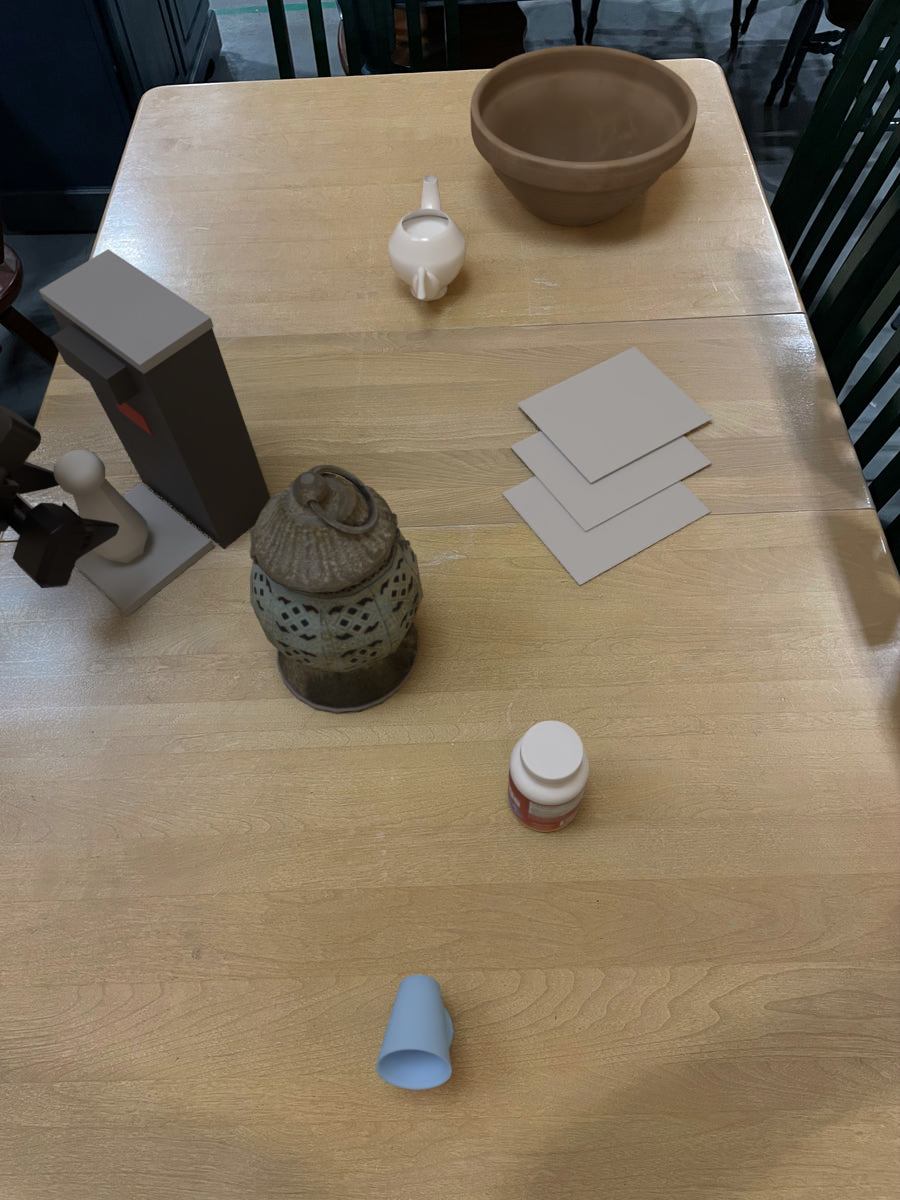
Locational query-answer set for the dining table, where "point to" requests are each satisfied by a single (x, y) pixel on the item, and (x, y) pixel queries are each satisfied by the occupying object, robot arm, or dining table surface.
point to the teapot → (427, 246)
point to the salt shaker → (102, 504)
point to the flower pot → (581, 129)
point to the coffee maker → (159, 419)
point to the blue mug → (417, 1037)
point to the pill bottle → (547, 776)
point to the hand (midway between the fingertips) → (88, 504)
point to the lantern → (335, 591)
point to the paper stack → (609, 464)
